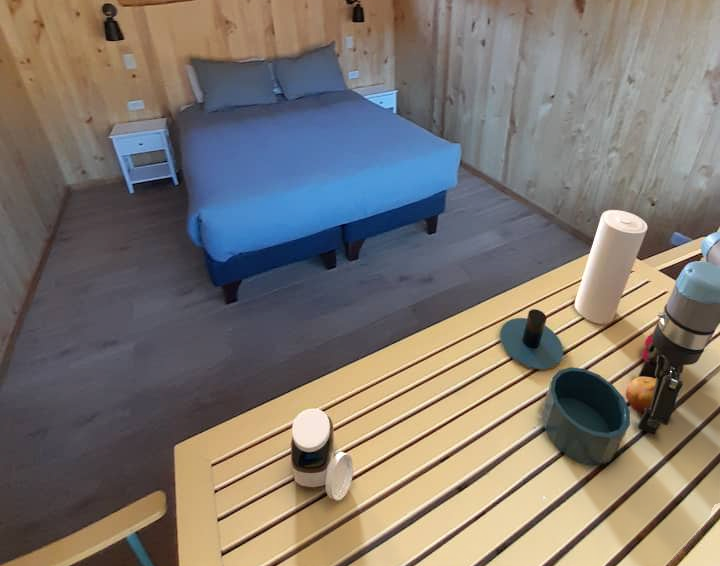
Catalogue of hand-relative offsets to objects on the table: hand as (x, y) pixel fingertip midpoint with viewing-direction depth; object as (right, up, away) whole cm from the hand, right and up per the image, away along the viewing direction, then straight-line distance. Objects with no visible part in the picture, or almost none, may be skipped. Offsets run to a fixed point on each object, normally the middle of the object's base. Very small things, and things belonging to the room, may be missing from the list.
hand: (644, 405), depth 85 cm
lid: (-19, +7, +14) cm, 24 cm away
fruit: (0, 0, 0) cm, 0 cm away
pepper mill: (+10, +5, +9) cm, 14 cm away
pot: (-16, -2, -4) cm, 17 cm away
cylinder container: (+3, +12, +24) cm, 26 cm away
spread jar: (-68, -7, -9) cm, 69 cm away
